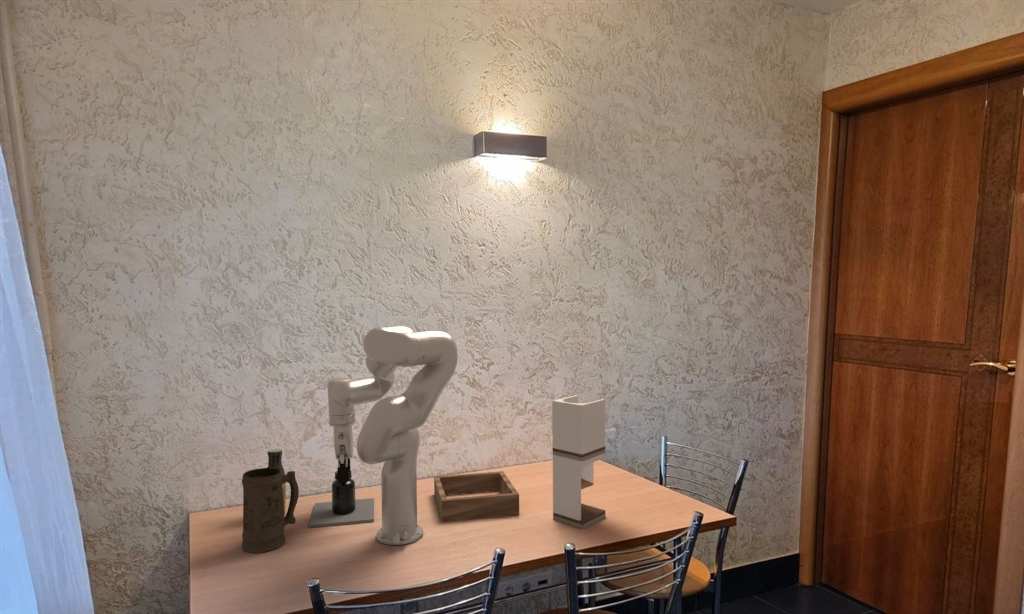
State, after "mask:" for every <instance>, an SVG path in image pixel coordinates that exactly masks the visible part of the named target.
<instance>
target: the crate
mask: <svg viewBox="0 0 1024 614" xmlns="http://www.w3.org/2000/svg"><path fill="white" fill-rule="evenodd" d="M433 479H434V480H433V482H434V483H433V485H434V486H433V488H434V489H433V490H434V491H433V493H434V494H435V495H434V498H436V499H435V502H436V501H437V502H436V505H438V506H437V508H439V509H438V513H439V512H440V513H439V515H440V519H442V520H441V522H449V521H448V520H453V521H460V520H461V521H463V520H472V519H482V518H483V519H485V518H494V517H501V516H502V517H505V516H512V515H513V516H514V515H520V493H519V492H518V491H517V489H516V488H515V486H514V485H513V484H512V482H511V480H510V479H509V478H508V476H507V475H506V473H505V472H504V471H491V472H480V473H479V472H476V473H465V474H454V475H453V474H451V475H439V476H438V475H437V476H433ZM497 490H500V491H499V492H500V494H499V493H497V494H488V495H485V494H484V495H476V496H465V497H452V498H447V496H450V495H449V494H457V495H463V494H462V493H468V494H475V493H474V492H480V493H486V491H492V492H498V491H497ZM462 519H463V520H462Z"/></svg>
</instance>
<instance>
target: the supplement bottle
mask: <svg viewBox="0 0 1024 614" xmlns="http://www.w3.org/2000/svg"><path fill="white" fill-rule="evenodd" d="M352 475H353V474H352V470H349V480H346V481H338V472H337V470H336V471H335V472H334V479H335V480H334V481H332V483H331V502H332V512H333V513H334V514H337V515H345V514H349V513H352V512H353V511H354V510H355V500H356V482H355V480H354V479H353V478H352V477H353V476H352Z"/></svg>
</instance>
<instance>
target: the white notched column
mask: <svg viewBox="0 0 1024 614" xmlns="http://www.w3.org/2000/svg"><path fill="white" fill-rule="evenodd" d="M551 402H552V411H551V412H552V416H551V417H552V520H555V521H556V522H557V521H558V522H560V523H563V524H566V525H569V526H571V527H575V528H579V529H581V530H583V529H585V528H587V527H590V526H591V525H593V524H595V523H597V522H599V521H601V520H603V519H605V518H606V510H605V509H602V508H598V507H596V506H592V505H588V504H585V503H582V490H584V489H587V488H589V487H592V486H594V485H595V484H594V480H595V479H594V477H595V476H594V471H595V470H594V469H595V468H594V467H595V466H594V463H595V462H598V461H600V460H602V459H605V458H606V399H604V398H601V399H598V400H593V401H589V402H580V403H579V395H576V394H575V395H572V396H566V397H562V398H558V399H554V400H552V401H551Z"/></svg>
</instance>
